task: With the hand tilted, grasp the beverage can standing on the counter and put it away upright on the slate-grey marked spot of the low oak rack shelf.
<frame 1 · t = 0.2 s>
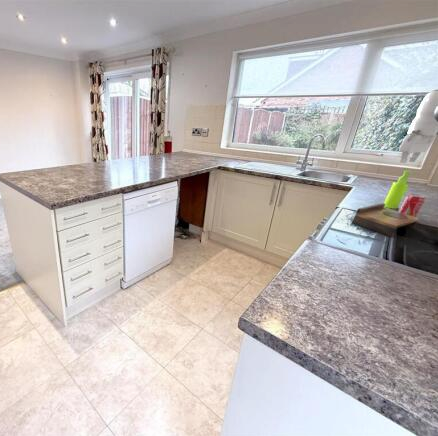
hand: (407, 162, 113), 26 cm above the worktop, tool pointing down, fingers open, 8 cm apart
beverage can: (404, 219, 119), on the worktop
soap dispenser: (390, 207, 134), on the worktop
shelf: (382, 225, 109), on the worktop
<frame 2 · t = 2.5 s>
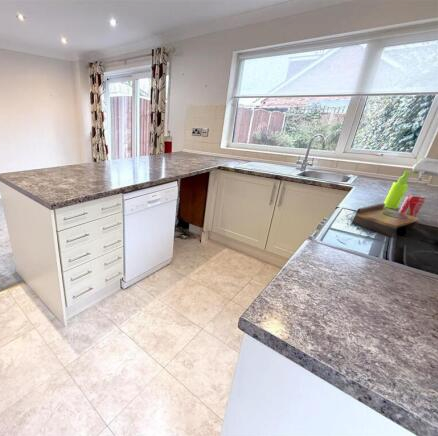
hand: (432, 182, 117), 17 cm above the worktop, tool tilted 45°, fingers open, 8 cm apart
nothing on the worktop moved.
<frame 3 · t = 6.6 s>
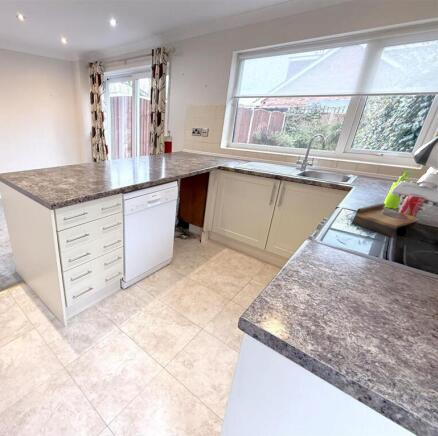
hand: (410, 206, 116), 6 cm above the worktop, tool tilted 45°, fingers closed on beverage can, 6 cm apart
beverage can: (404, 219, 119), on the worktop, touching gripper
everything else where it was.
when the fingers open (11 cm above the worktop, at t = 14.4 s): beverage can stays where it is, resting on shelf.
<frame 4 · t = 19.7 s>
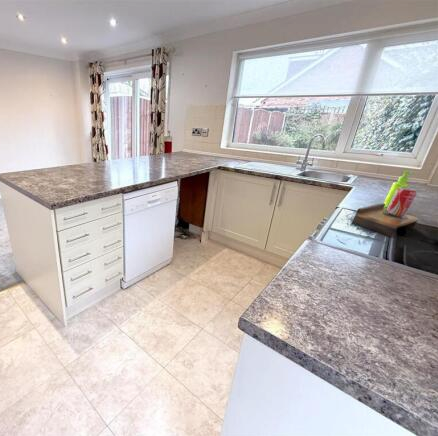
beverage can: (394, 215, 108), point 5 cm above the worktop, touching shelf
everything else where it was.
at the end: beverage can 0.1 cm from the target spot on the shelf, point 5.0 cm above the shelf's base; beverage can tilted 0°; the gripper is holding nothing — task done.
